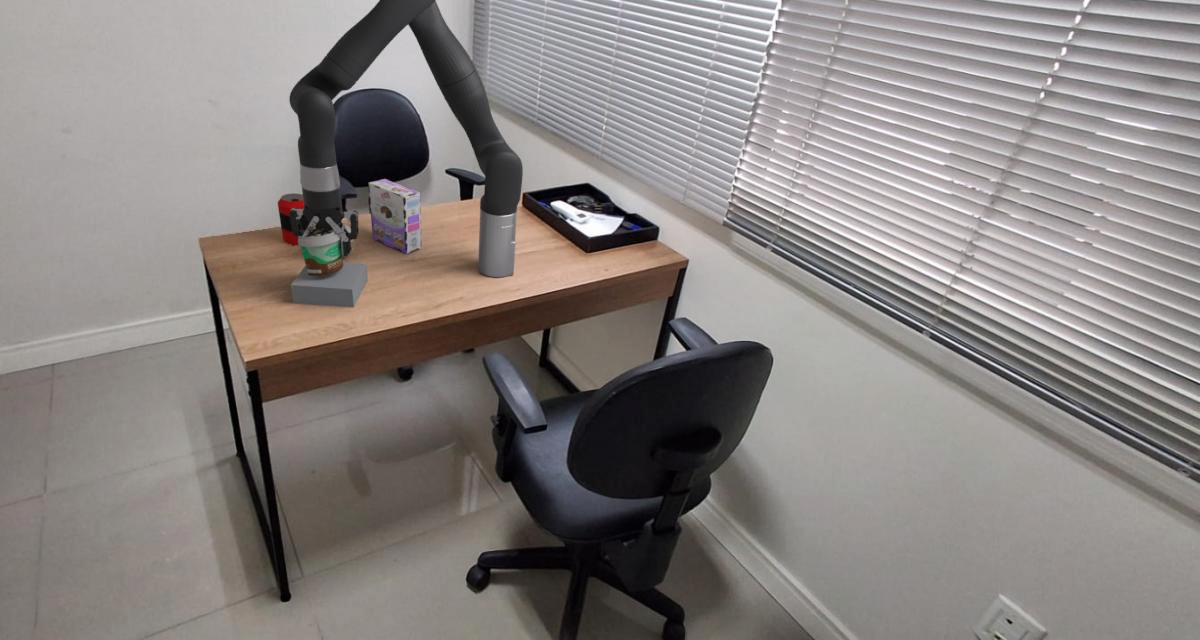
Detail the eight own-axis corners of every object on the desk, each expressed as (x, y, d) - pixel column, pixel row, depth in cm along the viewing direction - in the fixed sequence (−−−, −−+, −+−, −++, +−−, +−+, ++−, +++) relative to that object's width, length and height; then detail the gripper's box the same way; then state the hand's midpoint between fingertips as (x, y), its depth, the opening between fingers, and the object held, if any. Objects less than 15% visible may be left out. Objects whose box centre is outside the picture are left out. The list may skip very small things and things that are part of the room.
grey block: (367, 281, 151) (366, 263, 148) (353, 308, 140) (352, 289, 137) (312, 277, 149) (309, 259, 146) (293, 304, 138) (290, 285, 135)
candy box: (422, 248, 169) (421, 191, 161) (406, 255, 165) (403, 196, 156) (388, 233, 175) (385, 177, 166) (371, 238, 170) (367, 181, 162)
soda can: (287, 247, 160) (280, 204, 153) (280, 236, 164) (273, 193, 158) (317, 243, 164) (312, 201, 158) (310, 232, 169) (305, 190, 163)
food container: (330, 283, 136) (323, 241, 130) (304, 278, 136) (296, 237, 131) (359, 259, 146) (354, 220, 141) (335, 255, 147) (329, 216, 142)
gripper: (359, 180, 135) (364, 248, 144) (289, 175, 133) (299, 245, 141) (353, 192, 129) (359, 263, 137) (279, 187, 126) (290, 259, 135)
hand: (328, 253), depth 139 cm, fingers open, 7 cm apart
